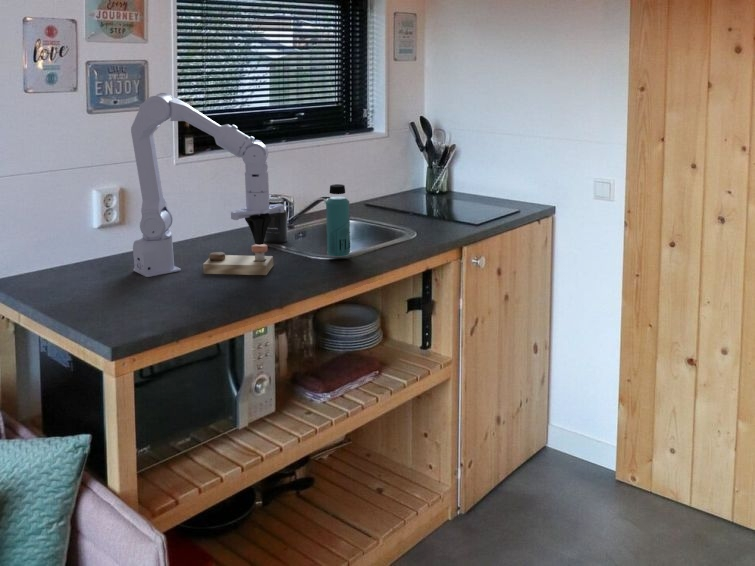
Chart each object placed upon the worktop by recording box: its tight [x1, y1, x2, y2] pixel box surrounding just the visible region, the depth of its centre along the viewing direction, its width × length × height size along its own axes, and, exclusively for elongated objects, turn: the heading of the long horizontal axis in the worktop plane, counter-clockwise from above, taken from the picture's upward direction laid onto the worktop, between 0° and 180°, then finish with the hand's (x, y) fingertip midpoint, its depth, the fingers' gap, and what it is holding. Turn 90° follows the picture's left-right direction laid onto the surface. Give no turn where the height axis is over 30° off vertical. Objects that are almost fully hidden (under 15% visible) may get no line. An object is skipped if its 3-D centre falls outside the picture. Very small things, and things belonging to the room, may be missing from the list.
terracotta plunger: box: [250, 243, 268, 261], centre depth 217 cm, size 4×4×4 cm
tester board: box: [202, 254, 274, 276], centre depth 218 cm, size 16×9×2 cm, turn 85°
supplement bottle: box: [264, 198, 288, 244], centre depth 246 cm, size 7×7×12 cm
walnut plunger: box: [208, 251, 226, 261], centre depth 219 cm, size 4×4×4 cm
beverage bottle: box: [325, 184, 351, 257], centre depth 226 cm, size 6×7×20 cm
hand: (259, 243), depth 216 cm, fingers closed
